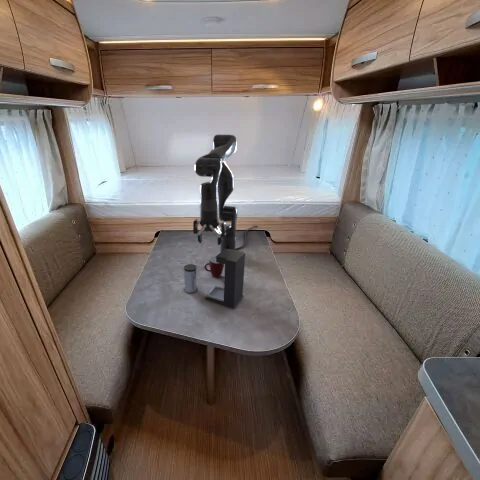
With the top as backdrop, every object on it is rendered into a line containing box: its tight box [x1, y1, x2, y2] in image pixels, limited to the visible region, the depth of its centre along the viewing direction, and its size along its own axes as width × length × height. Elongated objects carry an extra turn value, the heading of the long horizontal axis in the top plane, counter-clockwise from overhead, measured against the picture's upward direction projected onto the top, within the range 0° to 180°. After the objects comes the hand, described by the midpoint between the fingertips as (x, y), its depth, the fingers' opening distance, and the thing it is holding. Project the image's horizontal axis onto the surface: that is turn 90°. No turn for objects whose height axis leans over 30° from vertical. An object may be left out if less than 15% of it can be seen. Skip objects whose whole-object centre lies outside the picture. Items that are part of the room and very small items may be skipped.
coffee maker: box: [205, 249, 246, 309], centre depth 124 cm, size 15×11×24 cm
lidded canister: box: [183, 263, 198, 294], centre depth 133 cm, size 6×6×13 cm
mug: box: [204, 256, 225, 279], centre depth 146 cm, size 11×8×10 cm
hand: (209, 243), depth 117 cm, fingers open, 8 cm apart
